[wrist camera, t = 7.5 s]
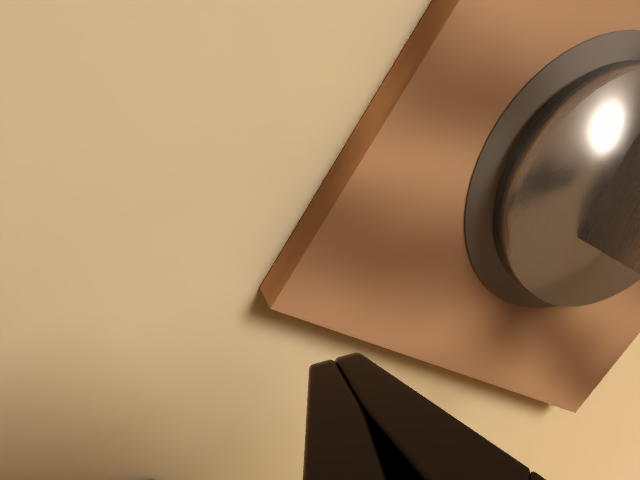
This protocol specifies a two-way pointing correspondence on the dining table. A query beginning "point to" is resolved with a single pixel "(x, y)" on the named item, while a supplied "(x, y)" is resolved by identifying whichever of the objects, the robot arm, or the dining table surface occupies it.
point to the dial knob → (575, 192)
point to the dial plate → (458, 203)
